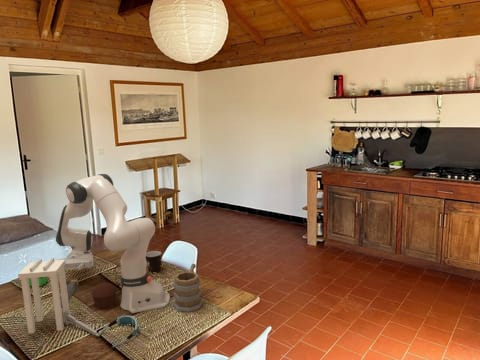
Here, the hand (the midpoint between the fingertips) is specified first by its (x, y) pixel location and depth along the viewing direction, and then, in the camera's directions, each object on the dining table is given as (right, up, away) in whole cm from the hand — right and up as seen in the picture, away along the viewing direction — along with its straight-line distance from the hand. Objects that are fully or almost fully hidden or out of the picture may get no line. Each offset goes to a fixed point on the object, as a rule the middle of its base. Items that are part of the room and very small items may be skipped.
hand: (67, 269), depth 185 cm
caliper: (+19, -18, -30) cm, 40 cm away
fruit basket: (-22, -11, +12) cm, 28 cm away
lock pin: (+1, -12, -1) cm, 13 cm away
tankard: (+62, -12, -9) cm, 63 cm away
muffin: (+22, -14, -11) cm, 28 cm away
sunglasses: (+36, -18, -35) cm, 53 cm away
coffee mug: (+37, -7, +24) cm, 45 cm away
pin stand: (+4, -17, -26) cm, 31 cm away
